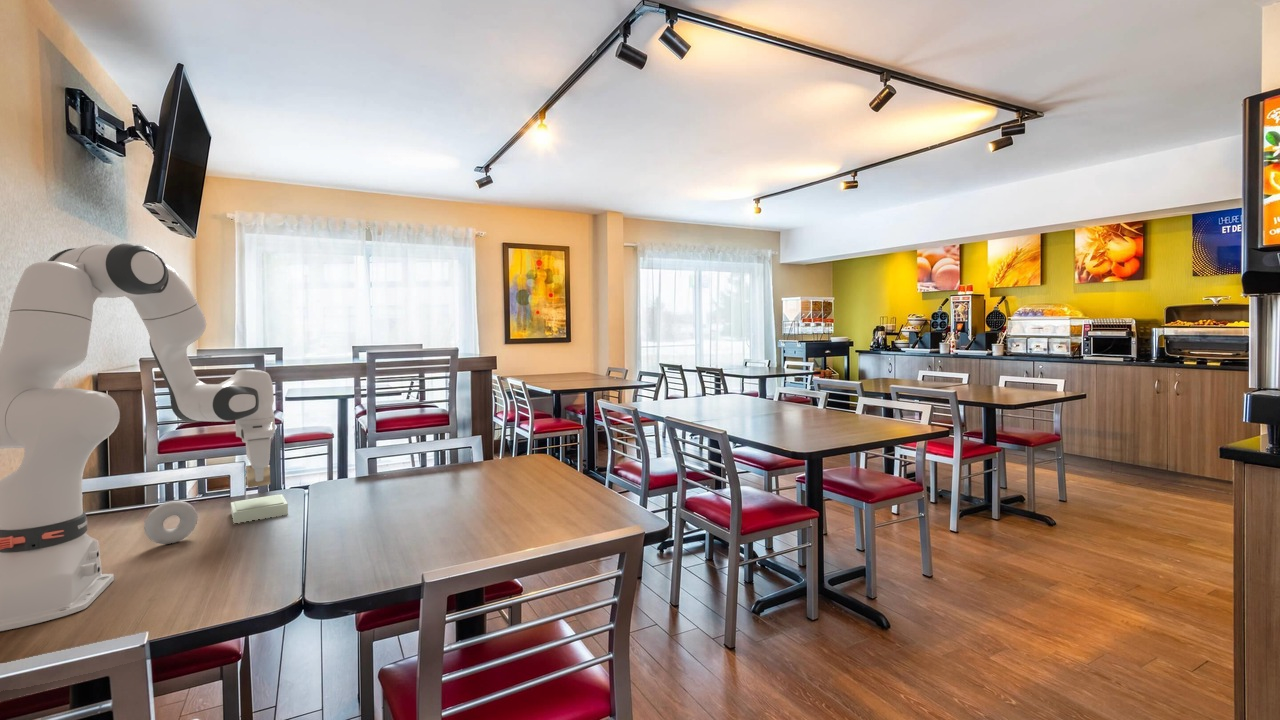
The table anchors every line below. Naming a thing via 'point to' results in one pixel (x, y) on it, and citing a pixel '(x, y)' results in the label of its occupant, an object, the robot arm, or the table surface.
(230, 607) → the table surface
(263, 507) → the pedestal
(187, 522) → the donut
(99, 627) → the table surface
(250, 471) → the maple cube
